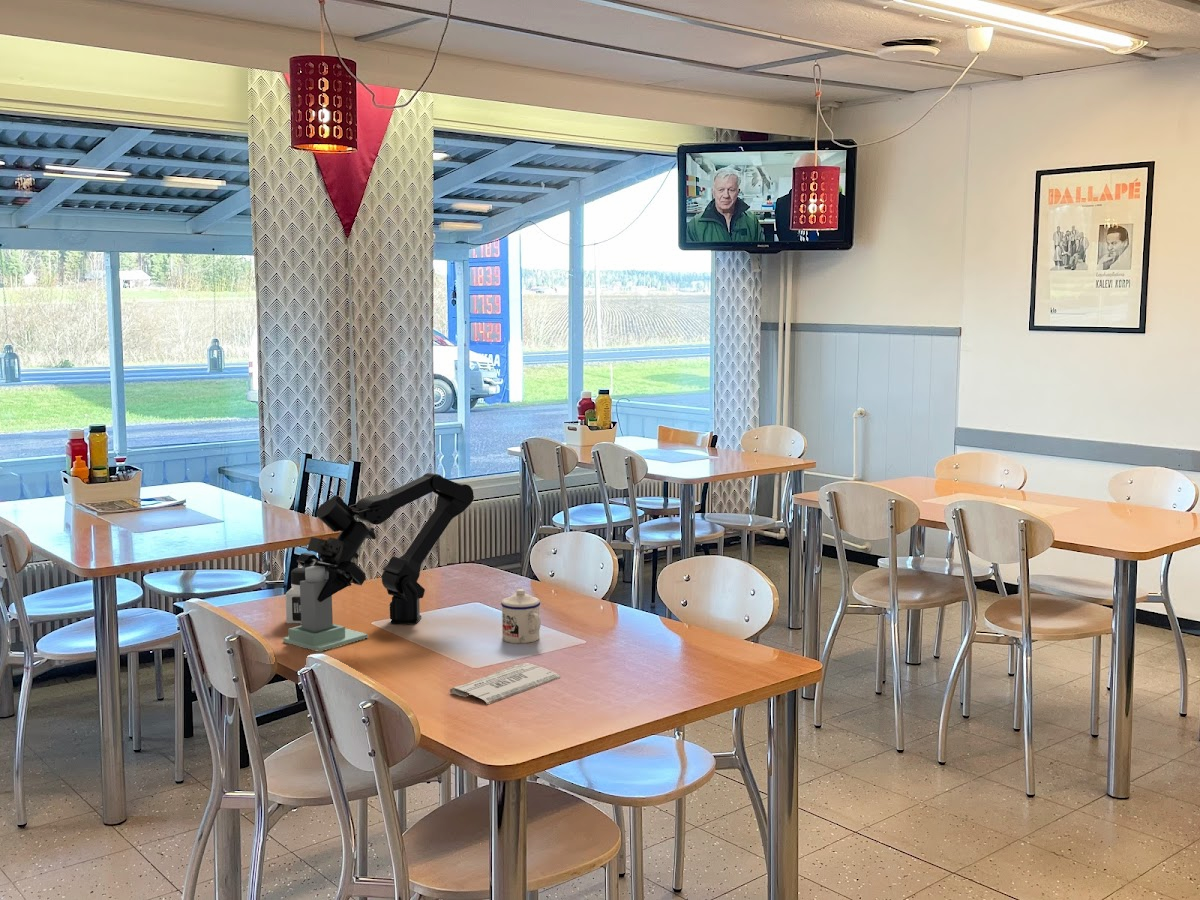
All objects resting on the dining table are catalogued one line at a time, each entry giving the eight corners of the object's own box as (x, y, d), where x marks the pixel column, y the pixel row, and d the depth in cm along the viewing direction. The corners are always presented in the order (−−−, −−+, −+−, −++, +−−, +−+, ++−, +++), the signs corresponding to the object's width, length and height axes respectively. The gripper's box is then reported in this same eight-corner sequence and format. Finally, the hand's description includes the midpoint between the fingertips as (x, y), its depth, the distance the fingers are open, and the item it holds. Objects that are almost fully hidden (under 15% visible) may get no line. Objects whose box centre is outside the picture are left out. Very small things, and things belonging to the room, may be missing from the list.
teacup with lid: (493, 637, 272) (493, 589, 270) (526, 631, 277) (525, 583, 276) (522, 649, 262) (522, 599, 261) (555, 642, 268) (555, 593, 266)
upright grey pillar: (318, 623, 270) (316, 564, 269) (332, 626, 267) (330, 567, 266) (301, 628, 267) (299, 568, 265) (315, 631, 263) (313, 571, 262)
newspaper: (517, 668, 250) (518, 657, 250) (560, 686, 243) (560, 674, 242) (440, 695, 233) (440, 683, 232) (483, 714, 225) (483, 702, 225)
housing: (331, 628, 279) (331, 614, 278) (367, 638, 271) (367, 623, 270) (283, 641, 268) (283, 627, 267) (319, 652, 260) (319, 636, 259)
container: (317, 623, 283) (315, 571, 282) (286, 623, 283) (284, 571, 282) (325, 615, 291) (324, 564, 289) (294, 615, 291) (293, 564, 289)
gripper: (301, 519, 273) (264, 573, 265) (354, 528, 261) (316, 585, 254) (329, 546, 280) (293, 600, 273) (381, 556, 269) (345, 612, 261)
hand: (311, 599), depth 265 cm, fingers closed on upright grey pillar, 5 cm apart
